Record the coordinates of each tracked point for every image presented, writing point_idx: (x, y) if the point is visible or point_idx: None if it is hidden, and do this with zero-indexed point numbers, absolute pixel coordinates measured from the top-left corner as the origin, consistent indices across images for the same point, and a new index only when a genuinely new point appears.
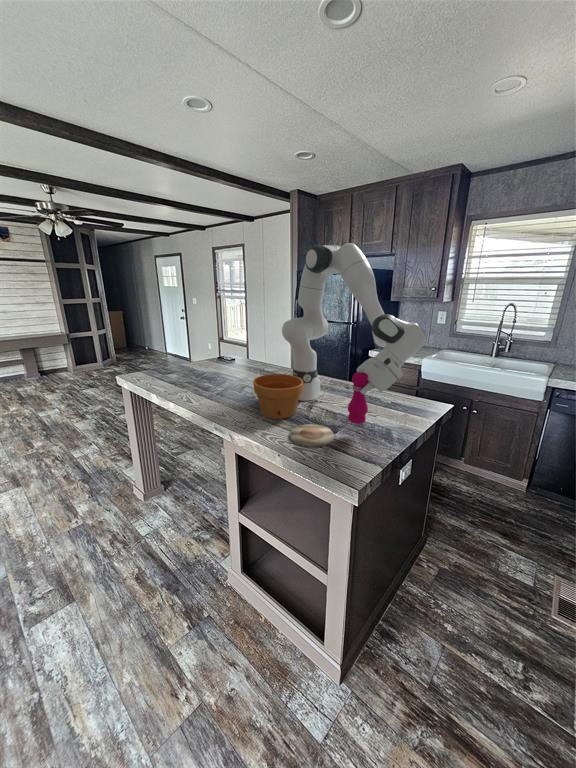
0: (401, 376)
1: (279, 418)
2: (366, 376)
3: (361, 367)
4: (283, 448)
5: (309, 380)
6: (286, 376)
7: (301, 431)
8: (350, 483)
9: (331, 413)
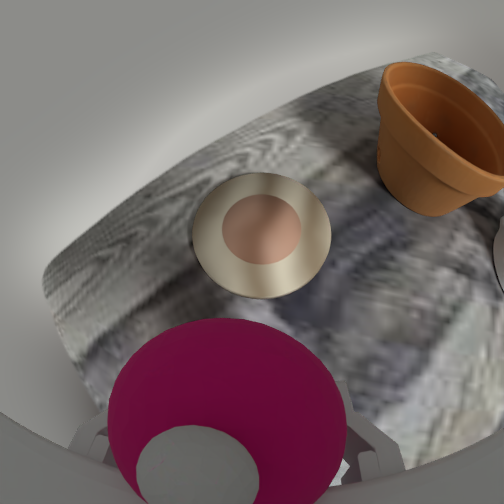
0: None
1: (378, 169)
2: (127, 480)
3: (500, 485)
4: (209, 160)
5: None
6: None
7: (278, 200)
8: (50, 268)
9: (428, 332)
